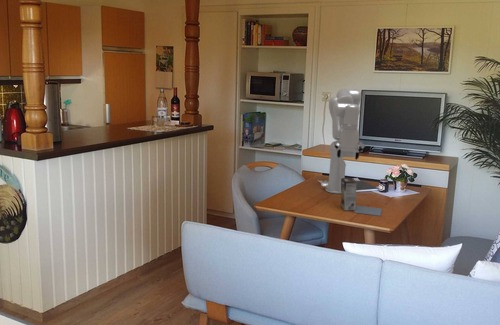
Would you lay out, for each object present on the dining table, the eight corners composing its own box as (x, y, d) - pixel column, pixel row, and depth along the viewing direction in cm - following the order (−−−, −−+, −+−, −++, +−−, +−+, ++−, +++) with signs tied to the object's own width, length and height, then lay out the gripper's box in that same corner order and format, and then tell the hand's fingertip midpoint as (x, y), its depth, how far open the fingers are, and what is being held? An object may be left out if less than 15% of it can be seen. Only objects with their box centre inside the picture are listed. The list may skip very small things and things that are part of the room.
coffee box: (340, 205, 292) (340, 178, 288) (351, 205, 292) (352, 177, 289) (344, 210, 283) (345, 182, 279) (356, 210, 283) (356, 181, 280)
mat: (353, 212, 280) (354, 212, 280) (356, 206, 293) (356, 205, 293) (380, 216, 276) (380, 215, 276) (382, 209, 289) (382, 208, 289)
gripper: (333, 126, 283) (330, 157, 287) (365, 129, 277) (362, 161, 280) (336, 125, 290) (333, 155, 294) (367, 128, 284) (364, 159, 287)
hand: (347, 158), depth 287 cm, fingers open, 9 cm apart
